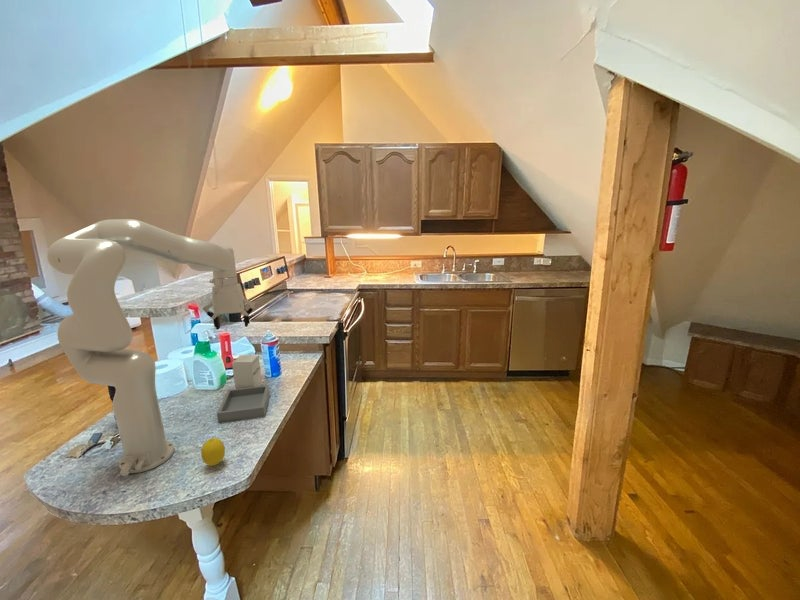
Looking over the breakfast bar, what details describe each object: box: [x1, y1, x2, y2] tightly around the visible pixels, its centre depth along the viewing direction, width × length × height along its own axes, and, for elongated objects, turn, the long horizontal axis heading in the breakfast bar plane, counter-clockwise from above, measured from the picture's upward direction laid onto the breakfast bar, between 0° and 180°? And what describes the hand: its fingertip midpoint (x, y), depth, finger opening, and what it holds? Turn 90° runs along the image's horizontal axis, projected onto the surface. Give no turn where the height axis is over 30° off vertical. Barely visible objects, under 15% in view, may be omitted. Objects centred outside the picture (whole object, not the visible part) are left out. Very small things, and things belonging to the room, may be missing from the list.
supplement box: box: [231, 354, 263, 389], centre depth 135 cm, size 7×7×13 cm
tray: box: [216, 384, 271, 424], centre depth 123 cm, size 16×14×4 cm
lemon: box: [200, 437, 226, 467], centre depth 95 cm, size 6×6×8 cm
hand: (232, 327), depth 132 cm, fingers open, 9 cm apart
